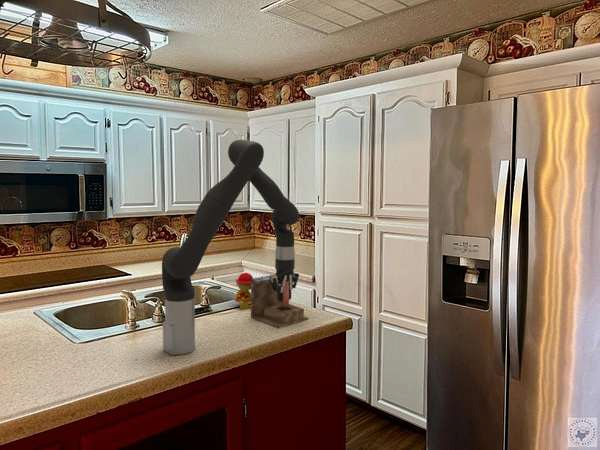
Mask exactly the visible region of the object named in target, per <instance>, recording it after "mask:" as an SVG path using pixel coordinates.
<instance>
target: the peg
mask: <svg viewBox="0 0 600 450" xmlns="http://www.w3.org/2000/svg"><path fill="white" fill-rule="evenodd" d="M280 284H282V283H280ZM280 288H281V286H280ZM289 304H290V300H289V281H286V282H285V287H284V288H283V302H280V306H281V307H288V306H289Z"/></svg>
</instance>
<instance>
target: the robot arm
mask: <svg viewBox="0 0 600 450" xmlns="http://www.w3.org/2000/svg"><path fill="white" fill-rule="evenodd" d="M227 154H228V155H227V156H228V158H229V161H230V162H231V163H232V165H234V166H233V168H232V170H231V171H230V172H229V173H228V174H227V175H226V176H225V177H223V179H220V181H219V182H218V181H217V183H216V184H215V185H213V186H212V187H211V188H210V189H209V190H208V192H206V194H205V195H204V197H203V199H202V200H201V202H200V203H199V205H198V207H197V209H196V212H195V215H194V219H193V221H192V226H191V229H190V232H189V234H188V236H187V238H186V239H185V241H183V244H182V245H181V246H174V247H172V248H171V247H170V248H169V249H167V250H166V251H165V253H164V254H163V256H162V261H161V279H162V280H161V281H162V288H163V292H164V311H165V312H164V317H165V319H164V321H162V350H163V352H166V353H167V354H169V355H170V356H177V355H178V356H179V355H185V354H190V353H192V352H193V351H195V350H196V320H195V319H196V318H195V317H196V313H195V311H196V307H195V304H196V303H195V299H196V298H195V297H196V296H195V288H194V286H193V283H192V279H191V277H192V276H193V275H194V274H195V273H196V271H197V269H198V268H199V266H200V264H201V262H202V259H203V257H204V255H205V253H206V251H207V248H208V247H209V245H210V243H211V242H212V240H213V238H214V237H215V235H216V234H217V232H218V230H219V228H220V227H221V226H222V224H223V222H224V221H225V219H226V218H227V215H228V214H229V213H230V211H231V209H232V208H233V205H234V203H235V202H236V200H237V199H238V198H239V196H240V195H241V193H242V190H243V189H244V188H245V186H246V184H247V183H248V182H249V183H251V184H252V186H253V187H254V189H255V190H256V191H257V192H258V194H259V195H260V196H261V198H262V200H264V202H265V203H266V205H267V206H268V208H270V210H272V214H271V220H272V224H273V228H274V232H275V237H276V238H275V252H274V253H275V254H274V255H275V262H274V263H275V264H274V265H275V266H274V267H275V268H274V269H275V271H276V272H275V274H274V275H275V276H274V277H270V282H271V285H272V288H273V290H274V291H277V299H278V301H280V302H283V288H284V287H285V282H286V281H289V301H291V299H292V291H293V289H296V287H297V283H298V281H299V277H300V274H299V273H297V272H295V271H294V270H295V266H296V264H295V263H296V261H295V259H296V258H295V255H296V253H295V252H296V251H295V232H294V231H292V230H290V229H288V228H287V225H288V226H293V225H295V224H297V222H298V221H299V219H300V214H299V210H298V208H297V206H296V205H295V204H294V203H293V202H292V201H290V199H288V198H287V197H286V196H285V195H284V193H283V192H282V191H281V189H280V187H279V186H278V184H277V183H276V182H275V181H274V180H273V179H272V178H271V177H270V176H269V175H267V173H265V172H264V171H263V169H261V168H260V166H261V164H262V162H263V159H264V155H265V151H264V147H263V145H262V144H261V143H259V142H257V141H252V140H246V139H236V140H234V141H232V142H231V143H230V144H229V146H228V150H227ZM280 283H282V284H280ZM280 286H281V288H280Z"/></svg>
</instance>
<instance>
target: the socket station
mask: <svg viewBox="0 0 600 450" xmlns="http://www.w3.org/2000/svg"><path fill="white" fill-rule="evenodd" d="M274 276H275V274H271V275H266V276H265V275H263V276H259V277H253V279H251V289H250V294H251V301H250V318H251V319H253V320H256V321H259V322H261V323H263V324H266V325H268V326H271V327H273V328H275V327H276V329H280V327H281V328H284V327H288V326H291V325H294V324H297V323H301V322H304V321H307V320H309V317H308V316H305V308H303V307H300V306H296V305H294V304H290V303H289V306H288V307H281V306H280V301H278V299H277V291H274V290H273V288H272V285H271V282H270V277H274Z"/></svg>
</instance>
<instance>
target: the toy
mask: <svg viewBox="0 0 600 450" xmlns="http://www.w3.org/2000/svg"><path fill="white" fill-rule="evenodd" d="M251 279H254V276H252V274H251V273H248V272H243V273H241V274H239V276H238V278H237V279H236V280H235V281H234V282H235V283H237V287H238V289H239V290H237V292H236V294H235V297H234V301H235V302H237V303H238V304H239V309H240V310H247V309H248V308H249V307H250V303H251Z"/></svg>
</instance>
